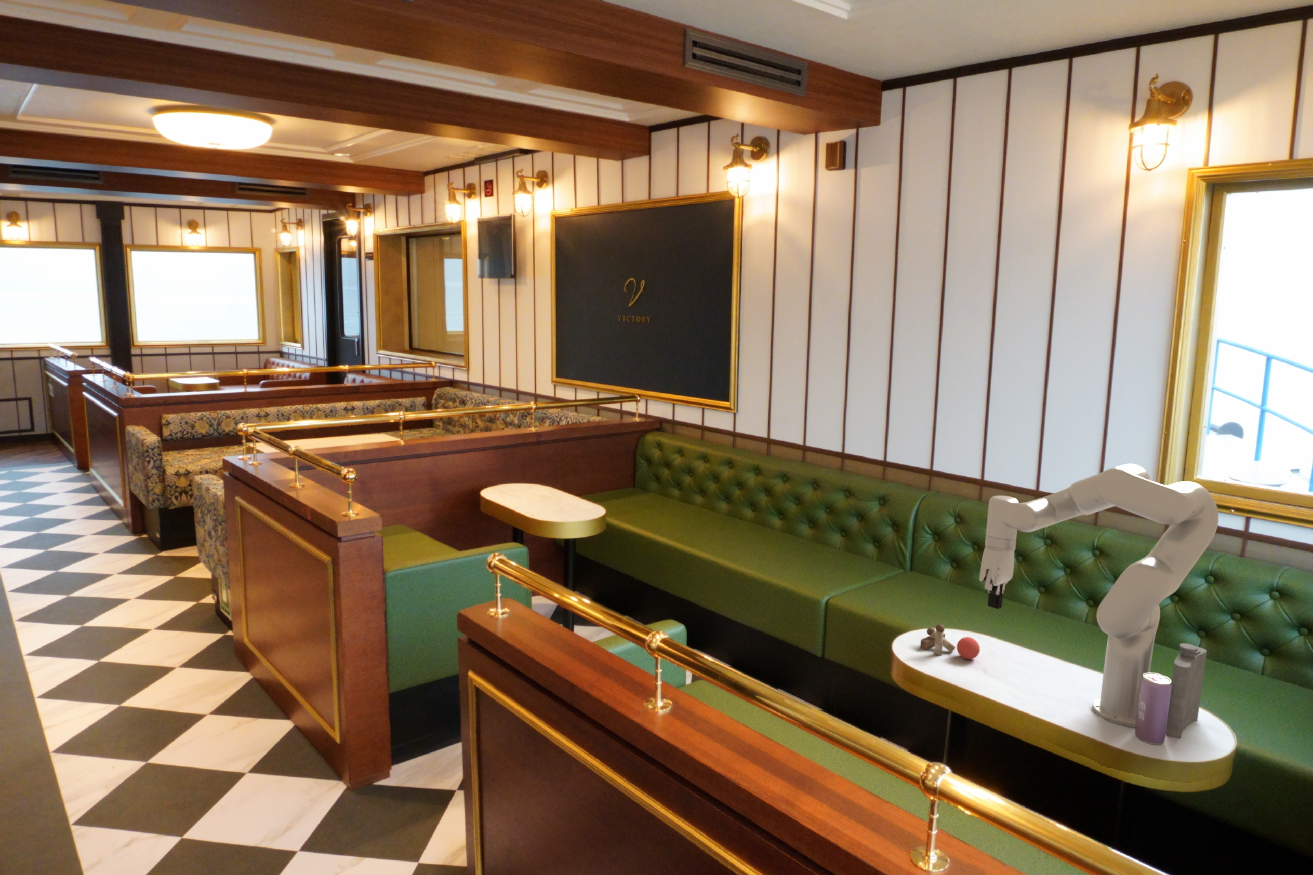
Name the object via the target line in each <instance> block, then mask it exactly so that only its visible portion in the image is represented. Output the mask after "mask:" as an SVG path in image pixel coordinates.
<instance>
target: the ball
mask: <svg viewBox="0 0 1313 875" xmlns="http://www.w3.org/2000/svg"><path fill="white" fill-rule="evenodd" d="M956 649H957V653H958V655H959V656H960V657H962V658H963V659H965V660H966V659H967V660H972V659H976V657H977V656H979V654H980V650H981V649H980V645H979V643H978V641H977V640H976V639H974V638H972V637H971V636H965V637H962V638H961V639H959V641H958V642H957V644H956Z"/></svg>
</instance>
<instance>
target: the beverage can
mask: <svg viewBox="0 0 1313 875" xmlns="http://www.w3.org/2000/svg"><path fill="white" fill-rule="evenodd" d="M1171 683H1172V679H1170V677H1168V676H1166V675H1163V674H1160V673H1157V672H1150V673H1144V674H1143V677H1142V679H1141V686H1140V694H1139V702H1138V710H1137V718H1136V726H1135V727H1134V735H1135V737H1136V738H1137V739H1138V740H1139V741H1141V742H1143V743H1145V744H1149V745H1152V746H1158V745H1159V746H1160V745H1162V744H1163V743H1164V742H1165V741H1166V736H1167V735H1166V727H1167V720H1168V712H1169V704H1170V697H1171V689H1172V685H1171Z"/></svg>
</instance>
